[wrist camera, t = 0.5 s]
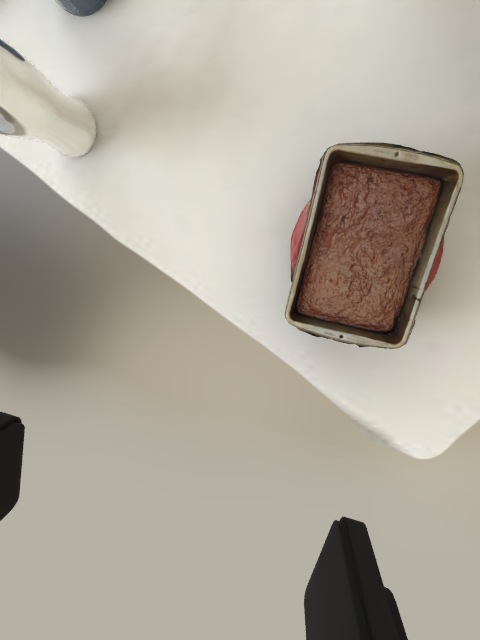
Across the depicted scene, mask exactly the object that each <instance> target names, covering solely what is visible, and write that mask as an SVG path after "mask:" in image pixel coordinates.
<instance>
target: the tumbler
mask: <svg viewBox="0 0 480 640" xmlns="http://www.w3.org/2000/svg"><path fill="white" fill-rule="evenodd" d="M55 1H56V2H57V3H58V4H59V5H60V6H61V7H62V8H63V9H64V10H66V11H67V12H69V13H71V14H73V15H76V16H87V15H91V14H93V13H95V12H96V11H98V10H99V9H100V8H101V7H102V6H103V5H104V3H105V2H106V0H55Z"/></svg>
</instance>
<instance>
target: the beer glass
mask: <svg viewBox="0 0 480 640" xmlns="http://www.w3.org/2000/svg"><path fill="white" fill-rule="evenodd" d="M96 133H97V128H96V122H95V118H94V116H93V114H92V112H91V110H90V109H89V108H88V107H87V106H86V105H85V104H84V103H83V102H82V101H80V100H78V99H76V98H74V97H72V96H69V95H66V94H64V93H62V92H61V91H59V90H58V89H57V88H56V87H55V86H54V85H53V84H52V83H51V82H50V81H49V80H48V79H47V78H46V77H45V76H44V74H43V73H42V72H41V71H40V70H39V69H38V68H37V67H36V66H35V65H34V64H33V63H32V62H31V61H30V60H29V59H28V58H27V57H26V56H24V55H23V54H22V53H21V52H20V51H19V50H18V49H16V48H15V47H14V46H13V45H11V44H10V43H9V42H8V41H6V40H5V39H4V38H2V37H1V36H0V134H1V135H5V136H10V137H14V138H20V139H26V140H32V141H38V142H42V143H45V144H47V145H49V146H50V147H52V148H53V149H54V150H56V151H57V152H58V153H60V154H62V155H64V156H67V157H80V156H83V155H84V154H86V153H87V152H88V151H89V150H90V149H91V148H92V146H93V144H94V142H95V139H96Z"/></svg>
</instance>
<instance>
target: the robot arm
mask: <svg viewBox="0 0 480 640" xmlns="http://www.w3.org/2000/svg"><path fill="white" fill-rule="evenodd" d="M24 429H25V427H24V425H23V424H22V423H21V419H20V418H19V417H16V416H13V415H10V414H6V413H3V412H0V521H1V520H2V519H3V518H4V517H5V516H6V515H7V514H8V513H9V512H10V511H11V510H12V508H13V507H14V506H15V504H16V503H17V501H18V498H19V492H20V478H21V467H22V455H23V442H24ZM304 608H305V625H306V640H408V639H407V636H406V633H405V629H404V626H403V623H402V620H401V617H400V613H399V610H398V607H397V604H396V601H395V599H394V596H393V594H392V592H391V591H390V590H389V589H388V588H386V587H384V586H383V582H382V579H381V576H380V572H379V569H378V565H377V562H376V558H375V555H374V552H373V548H372V545H371V541H370V538H369V535H368V531H367V528H366V526H365V524H364V523H363V522H360V521H356V520H353V519H350V518H346V517H342V518H341V519H340V521H337V520H335V521H334V522H333V524H332V526H331V529H330V531H329V534H328V536H327V539H326V541H325V544H324V546H323V549H322V551H321V553H320V556H319V558H318V561H317V563H316V565H315V568H314V570H313V573H312V575H311V578H310V580H309V583H308V585H307V588H306V591H305V599H304Z"/></svg>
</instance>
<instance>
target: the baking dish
mask: <svg viewBox="0 0 480 640" xmlns="http://www.w3.org/2000/svg"><path fill="white" fill-rule="evenodd" d="M463 175H464V173H463V169H462V167H461V165H460V163H458V162H457V161H455V160H453V159H450V158H447V157H444V156H441V155H438V154H434V153H429V152H425V151H418V150H415V149H413V148H409V147H404V146H401V145H395V144H388V143H342V144H337V145H334V146H332V147H329V148H328V149H327V150H326V151H325V153H324V155H323V156H322V158H321V159H320V165H319V168H318V170H317V172H316V176H315V181H314V187H313V192H312V198H311V200H310V201H309V202H308V204H307V205H306V207H305V208H304V210H303V211H302V213H301V214H300V217H299V219H298V222H297V224H296V226H295V229H294V231H293V233H292V238H291V281H292V285H291V289H290V292H289V296H288V300H287V305H286V311H285V318H286V319H287V321H288V322H289V323H290V324H291V325H293V326H295V327H296V328H298V329H299V330H301V331H304V332H306V333H308V334H310V335H312V336H316V337H324V338H327V339H333V340H335V341H339V342H343V343H347V344H356V345H358V346H359V347H369V346H371V347H378V348H385V349H386V348H390V349H394V348H400V347H402V346H403V345H405V344H406V343H407V341H408V339H409V336H410V334H411V332H412V329H413V327H414V324H415V318H416V315H417V312H418V309H419V306H420V303H421V300H422V297H423V294H424V292H425V290H426V289H427V288H428V286H429V285H430V283H431V282H432V280H433V279H434V277H435V275H436V273H437V270H438V267H439V264H440V261H441V257H442V252H443V243H444V234H445V232H446V229H447V227H448V223H449V220H450V216H451V214H452V212H453V209H454V206H455V204H456V201H457V198H458V195H459V192H460V190H461V186H462V183H463Z"/></svg>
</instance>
